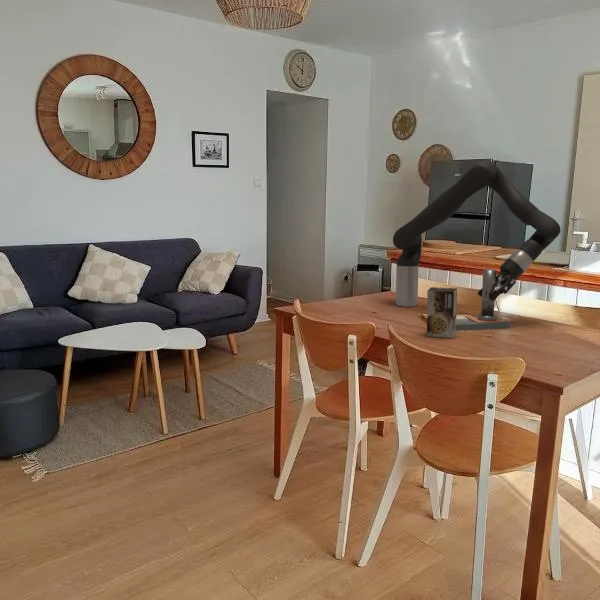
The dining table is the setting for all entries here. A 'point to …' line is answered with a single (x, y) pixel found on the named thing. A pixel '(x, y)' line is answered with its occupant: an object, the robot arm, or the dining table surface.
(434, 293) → the coffee box
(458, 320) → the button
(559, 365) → the dining table surface
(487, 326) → the button board
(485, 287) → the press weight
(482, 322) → the button
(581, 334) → the dining table surface
